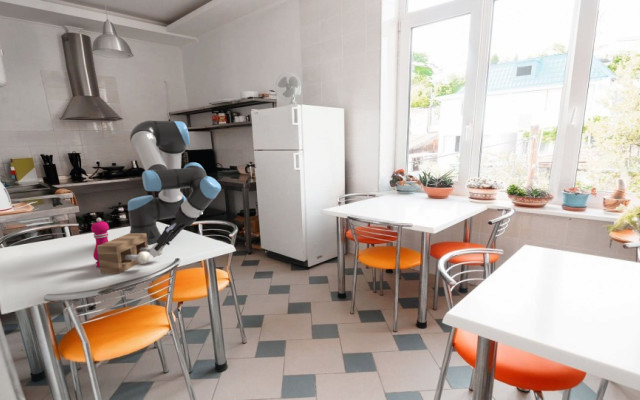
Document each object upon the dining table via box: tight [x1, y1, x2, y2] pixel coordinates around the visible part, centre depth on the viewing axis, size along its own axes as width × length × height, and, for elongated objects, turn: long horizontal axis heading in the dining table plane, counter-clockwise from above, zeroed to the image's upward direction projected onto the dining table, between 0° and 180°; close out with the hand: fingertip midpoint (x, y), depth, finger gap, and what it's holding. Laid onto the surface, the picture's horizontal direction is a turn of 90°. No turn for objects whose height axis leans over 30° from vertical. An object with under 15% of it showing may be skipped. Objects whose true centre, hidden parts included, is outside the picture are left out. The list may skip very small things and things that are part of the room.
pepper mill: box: [90, 217, 110, 268], centre depth 133 cm, size 7×7×20 cm
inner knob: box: [140, 244, 164, 257], centre depth 136 cm, size 5×8×5 cm, turn 84°
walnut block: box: [97, 232, 150, 275], centre depth 133 cm, size 18×8×11 cm, turn 174°
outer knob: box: [125, 252, 151, 264], centre depth 127 cm, size 5×8×5 cm, turn 84°
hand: (152, 254), depth 126 cm, fingers closed
